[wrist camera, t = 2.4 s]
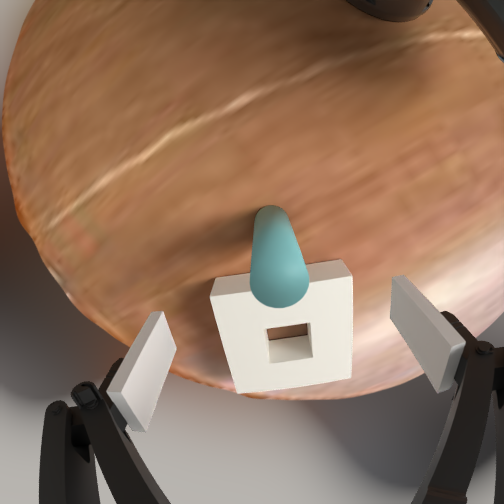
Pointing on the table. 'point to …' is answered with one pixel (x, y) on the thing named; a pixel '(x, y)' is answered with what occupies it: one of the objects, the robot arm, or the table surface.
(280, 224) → the peg
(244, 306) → the socket board
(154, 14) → the table surface
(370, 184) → the table surface
